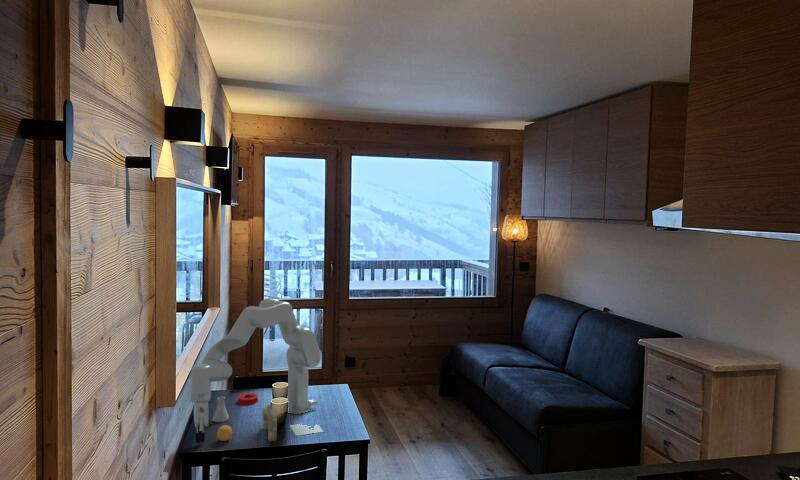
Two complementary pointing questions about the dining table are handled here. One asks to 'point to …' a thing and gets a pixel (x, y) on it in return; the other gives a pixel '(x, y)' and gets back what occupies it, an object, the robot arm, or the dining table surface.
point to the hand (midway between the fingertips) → (199, 441)
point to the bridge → (269, 422)
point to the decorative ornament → (247, 399)
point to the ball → (224, 433)
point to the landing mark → (305, 429)
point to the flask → (220, 411)
